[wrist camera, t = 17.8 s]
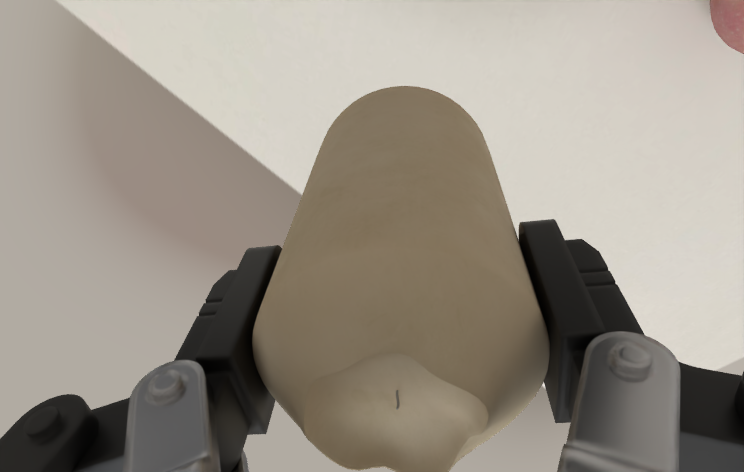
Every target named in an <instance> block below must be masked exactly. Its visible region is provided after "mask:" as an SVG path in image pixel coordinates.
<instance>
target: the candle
mask: <svg viewBox="0 0 744 472" xmlns="http://www.w3.org/2000/svg"><path fill="white" fill-rule="evenodd" d="M252 348H253V357H254V361H255V364H256V367H257V370H258V373H259V375H260V377H261V379H262V381H263V383H264V385H265V386H266V388H267V389H268V391H269V392H270V394H271V395H272V396H273V397H274V399H275V400H276V401H277V402H278V403H279V405H280V406H281V407H282V408H283V409H284V410H285V412H286V413H287V414H288V415H289V416H290V417H291V418H292V419H293V420H294V422H295V423H296V424H297V425H298V426H299V427H300V428H301V430H302V431H303V433H304V435H305V436H306V438H307V439H308V440H309V441H310V442H311V443H312V444H313V445H314V446H315V447H316V448H317V449H318V450H320V451H321V452H322V453H323V454H324V455H325V456H326V457H328V458H329V459H330V460H332V461H333V462H335V463H337V464H339V465H340V466H342V467H345V468H347V469H351V470H364V469H370V468H380V467H385V468H388V469H390V470H393V471H395V472H449V471H450V470H451V468H452V467H453V466H454V465H455V464H456V462H458V461H459V460H460V459H461V458H462V457H464V456H465V455H466V454H468V453H469V452H471V451H472V450H473V449H475V448H476V447H477V446H479V445H481V444H482V443H484V442H485V441H487V440H489V439H490V438H491V437H493V436H494V435H495V434H497V433H498V432H499V431H501V430H502V429H503V428H504V427H506V426H507V425H508V424H509V423H511V422H512V421H513V420H514V419H515V418H516V417H517V416H518V415H519V414H520V413H521V412H522V411H523V410H524V409H525V408H526V407H527V406H528V404H529V403H530V402H531V401H532V399H533V398H534V397H535V396H536V394H537V392H538V391H539V389H540V387H541V386H542V384H543V381H544V379H545V376H546V373H547V371H548V365H549V357H550V341H549V336H548V331H547V327H546V324H545V321H544V318H543V314H542V311H541V308H540V305H539V302H538V299H537V296H536V293H535V290H534V287H533V284H532V281H531V277H530V274H529V271H528V268H527V265H526V262H525V259H524V256H523V253H522V250H521V247H520V244H519V241H518V238H517V235H516V231H515V228H514V225H513V222H512V219H511V216H510V213H509V210H508V207H507V204H506V201H505V198H504V195H503V192H502V189H501V185H500V182H499V179H498V176H497V173H496V170H495V167H494V164H493V161H492V158H491V155H490V152H489V149H488V147H487V144H486V142H485V139H484V137H483V134H482V132H481V130H480V129H479V127H478V125H477V124H476V122H475V121H474V120H473V119H472V117H471V116H470V115H469V114H468V113H467V112H466V111H465V110H464V109H463V108H462V107H461V106H460V105H459V104H457V103H456V102H454V101H453V100H451V99H450V98H448V97H446V96H444V95H442V94H440V93H438V92H435V91H432V90H429V89H425V88H420V87H412V86H397V87H390V88H384V89H380V90H377V91H374V92H371V93H369V94H367V95H365V96H363V97H361V98H360V99H358V100H356V101H355V102H353V103H352V104H351V105H350V106H349V107H347V108H346V109H345V110H344V111H343V112H342V113H341V114H340V115H339V116H338V117H337V119H336V120H335V121H334V122H333V124H332V125H331V127H330V128H329V130H328V132H327V134H326V136H325V138H324V141H323V143H322V145H321V148H320V150H319V153H318V155H317V158H316V160H315V163H314V166H313V168H312V171H311V174H310V176H309V179H308V182H307V184H306V187H305V190H304V192H303V195H302V198H301V200H300V203H299V206H298V209H297V211H296V214H295V216H294V219H293V222H292V224H291V227H290V230H289V232H288V235H287V237H286V240H285V243H284V245H283V248H282V251H281V253H280V256H279V259H278V261H277V264H276V267H275V269H274V272H273V275H272V277H271V280H270V283H269V285H268V288H267V291H266V293H265V296H264V299H263V301H262V304H261V307H260V309H259V312H258V315H257V318H256V322H255V325H254V329H253V339H252Z"/></svg>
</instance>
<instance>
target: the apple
mask: <svg viewBox="0 0 744 472" xmlns="http://www.w3.org/2000/svg"><path fill="white" fill-rule="evenodd" d="M710 11H711V18H712V22H713V25H714V28H715V30H716V32H717V33H718V35H719V36H720V37H721V39H722V40H723V41H724V42H725V43H726V44H727V45H728V46H730V47H731V48H733V49H735V50H737V51H739V52H741V53H743V54H744V0H710Z"/></svg>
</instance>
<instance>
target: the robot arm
mask: <svg viewBox="0 0 744 472" xmlns="http://www.w3.org/2000/svg"><path fill="white" fill-rule="evenodd" d="M519 244H520V247H521V250H522V253H523V256H524V259H525V262H526V265H527V268H528V271H529V274H530V277H531V281H532V284H533V287H534V290H535V293H536V296H537V299H538V302H539V305H540V308H541V311H542V314H543V318H544V321H545V324H546V327H547V331H548V336H549V341H550V357H549V365H548V371H547V373H546V376H545V379H544V384H545V387H546V391H547V394H548V398H549V401H550V405H551V409H552V412H553V416H554V419H555V423H566V422H571V424H570V429H569V434H568V438H567V443H566V444H564V446H563V449H562V452H561V457H560V461H559V465H558V471H557V472H744V372H743V375H742V376H740V375H734V374H729V373H723V372H718V371H712V370H707V369H701V368H697V367H692V366H689V365H686V364H683V363H681V362H678V361H677V359H676V357H675V356H674V355H673V353H672V352H671V351H670V350H669V349H668V348H666V347H665V346H664V345H663V344H661V343H659V342H658V341H656V340H654V339H652V338H650V337H647V336H645V335H644V333H643V331H642V329H641V328H640V326H639V324H638V322H637V320H636V318H635V317H634V315H633V313H632V311H631V309H630V307H629V306H628V304H627V302H626V300H625V298H624V296H623V295H622V293H621V291H620V289H619V287H618V285H616V284H615V280H614V278H613V276H612V274H611V273H610V271H608V267H607V265H606V263H605V261H604V260H603V258H602V256H601V254H600V252H599V251H597V250H596V249H595V248H593V247H592V246H591V245H589V244H588V243H587V242H585V241H584V240H582V239H576V240H564V238H563V236H562V233H561V231H560V229H559V227H558V225H557V223H556V221H555V220H554V219H550V220H540V221H530V222H520V224H519ZM281 251H282V248H281V247H280V246H278V245H277V246H267V247H256V248H249V249H247V250H246V252H245V254H244V256H243V258H242V260H241V262H240V264H239V267H238V269H237V270H230V271H228V272H227V273H226V274H225V275H224V276H223V277H221V279H220V280H218V281H217V282H216V283H215V284H214V285H213V287H212V289H211V291H210V293H209V295H208V297H207V299H206V303H204V304H203V306H202V308H201V310H200V312H199V316H197V318H196V320H195V322H194V323H193V326H192V327H191V329H190V331H189V333H188V335H187V337H186V339H185V341H184V343H183V345H182V347H181V348H180V350H179V352H178V354H177V356H176V358H175V360H174V361H172V362H169V363H166V364H164V365H161V366H159V367H157V368H156V369H154V370H153V371H151V372H150V373H148V374H147V375H146V376H145V377H143V378H142V379H141V381H139V383H138V384H137V385H136V387H135V388H134V390H133V391H132V394H131V396H130V398H128V399H124V400H121V401H118V402H115V403H112V404H109V405H106V406H103V407H100V408H96V409H93V410H91V409H90V408H89V406H88V405H87V404H86V402H85V401H84V400H83V399H82V398H81V397H80V396H77V395H69V394H67V395H61V396H57V397H54V398H51V399H49V400H46V401H44V402H42V403H40V404H39V405H37V406H35V407H34V408H32V409H31V410H29V411H28V412H27V413H26V414H24V415H23V416H22V417H21V418H20V419H19V420H18V421H17V422H16V423H15V424H14V425H13V426H12V427H11V428H10V429H9V430H8V431H7V432H6V434H5V435H4V436H3V437H2V438H1V439H0V472H249V470H248V463H247V458H246V455H245V453H244V451H243V447H244V444H245V440H246V438H247V435H249V434H266V432H267V429H268V425H269V422H270V418H271V414H272V411H273V407H274V403H275V399H274V397H273V396H272V395H271V394H270V392H269V391H268V389H267V388H266V386H265V385H264V383H263V381H262V379H261V377H260V375H259V373H258V370H257V367H256V364H255V361H254V357H253V348H252V339H253V329H254V325H255V322H256V318H257V315H258V312H259V309H260V307H261V304H262V301H263V299H264V296H265V293H266V291H267V288H268V285H269V283H270V280H271V277H272V275H273V272H274V269H275V267H276V264H277V261H278V259H279V256H280V253H281Z"/></svg>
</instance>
